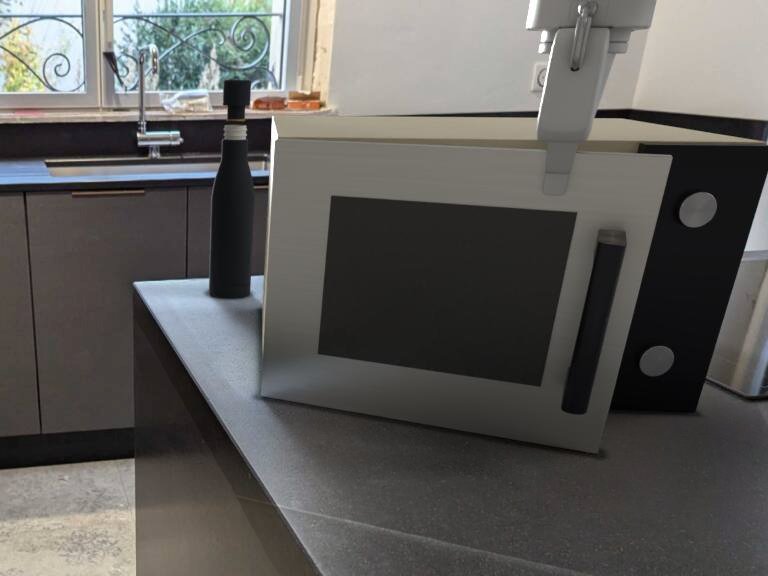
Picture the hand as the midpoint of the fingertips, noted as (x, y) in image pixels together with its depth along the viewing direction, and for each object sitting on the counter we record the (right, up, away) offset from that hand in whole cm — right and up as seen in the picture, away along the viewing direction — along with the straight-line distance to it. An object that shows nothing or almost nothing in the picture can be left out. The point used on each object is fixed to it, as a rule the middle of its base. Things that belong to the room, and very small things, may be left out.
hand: (554, 192), depth 69 cm
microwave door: (-9, -20, +10) cm, 24 cm away
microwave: (+1, -10, +32) cm, 34 cm away
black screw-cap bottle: (-23, +3, +58) cm, 63 cm away
